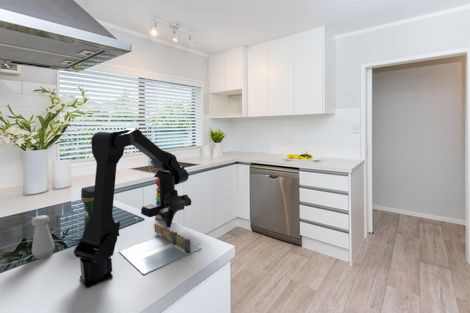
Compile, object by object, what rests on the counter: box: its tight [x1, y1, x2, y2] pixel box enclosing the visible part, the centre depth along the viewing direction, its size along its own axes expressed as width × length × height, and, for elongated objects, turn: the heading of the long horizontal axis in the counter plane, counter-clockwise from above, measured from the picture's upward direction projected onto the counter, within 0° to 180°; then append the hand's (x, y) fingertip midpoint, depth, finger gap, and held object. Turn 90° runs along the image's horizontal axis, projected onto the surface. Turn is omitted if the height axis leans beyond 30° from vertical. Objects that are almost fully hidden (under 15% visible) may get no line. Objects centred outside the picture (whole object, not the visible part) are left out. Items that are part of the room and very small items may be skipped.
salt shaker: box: [31, 214, 56, 260], centre depth 77 cm, size 6×6×13 cm
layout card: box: [118, 235, 202, 276], centre depth 81 cm, size 20×18×1 cm
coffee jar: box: [80, 184, 95, 230], centre depth 94 cm, size 10×8×19 cm
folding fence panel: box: [153, 222, 174, 242], centre depth 89 cm, size 12×1×3 cm, turn 46°
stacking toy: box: [154, 177, 163, 220], centre depth 110 cm, size 8×8×19 cm
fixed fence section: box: [172, 231, 191, 253], centre depth 82 cm, size 2×9×4 cm, turn 45°
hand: (168, 227), depth 93 cm, fingers closed
